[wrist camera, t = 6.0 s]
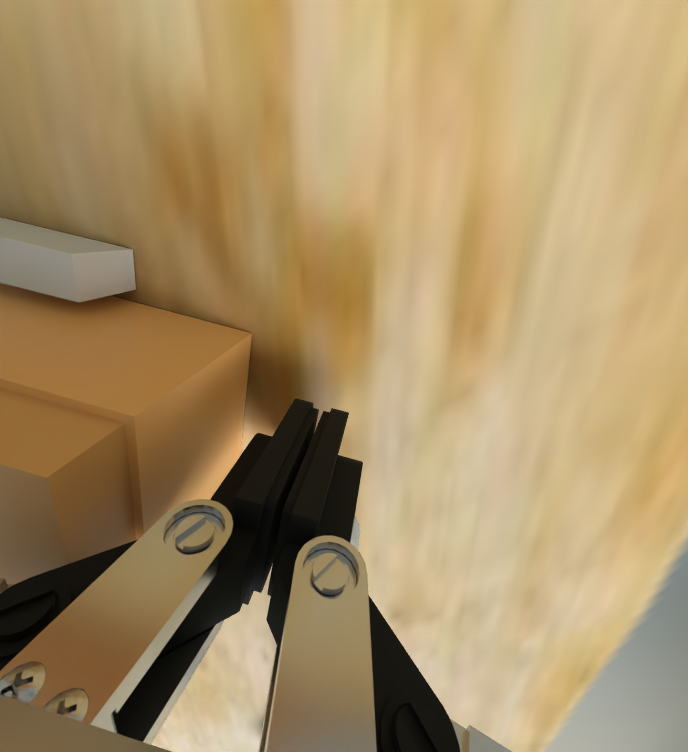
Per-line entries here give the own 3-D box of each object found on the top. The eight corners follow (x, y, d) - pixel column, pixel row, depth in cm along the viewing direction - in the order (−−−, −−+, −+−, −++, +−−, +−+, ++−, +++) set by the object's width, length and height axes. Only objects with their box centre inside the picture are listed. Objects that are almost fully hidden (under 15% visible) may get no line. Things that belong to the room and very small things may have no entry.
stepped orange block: (240, 455, 12) (100, 656, 7) (70, 407, 13) (-207, 557, 7) (252, 333, 10) (57, 470, 4) (46, 278, 10) (-390, 339, 5)
